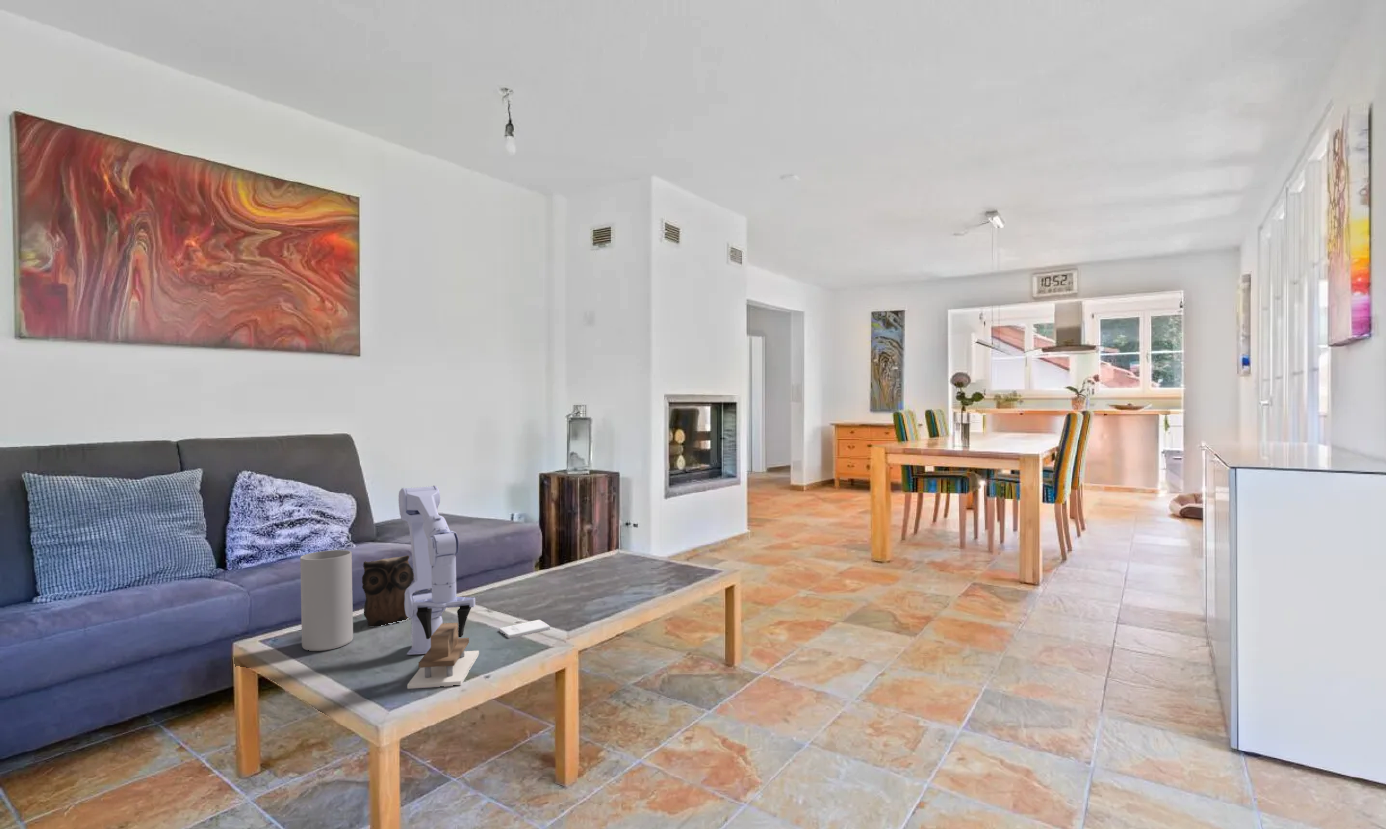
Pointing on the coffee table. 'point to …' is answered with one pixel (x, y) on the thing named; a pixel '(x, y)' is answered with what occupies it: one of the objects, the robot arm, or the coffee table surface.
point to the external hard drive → (524, 628)
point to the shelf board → (444, 659)
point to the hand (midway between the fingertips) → (444, 636)
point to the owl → (386, 589)
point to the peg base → (444, 673)
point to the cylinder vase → (326, 600)
